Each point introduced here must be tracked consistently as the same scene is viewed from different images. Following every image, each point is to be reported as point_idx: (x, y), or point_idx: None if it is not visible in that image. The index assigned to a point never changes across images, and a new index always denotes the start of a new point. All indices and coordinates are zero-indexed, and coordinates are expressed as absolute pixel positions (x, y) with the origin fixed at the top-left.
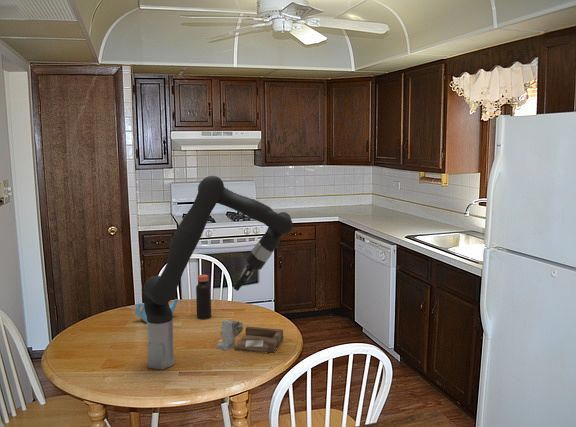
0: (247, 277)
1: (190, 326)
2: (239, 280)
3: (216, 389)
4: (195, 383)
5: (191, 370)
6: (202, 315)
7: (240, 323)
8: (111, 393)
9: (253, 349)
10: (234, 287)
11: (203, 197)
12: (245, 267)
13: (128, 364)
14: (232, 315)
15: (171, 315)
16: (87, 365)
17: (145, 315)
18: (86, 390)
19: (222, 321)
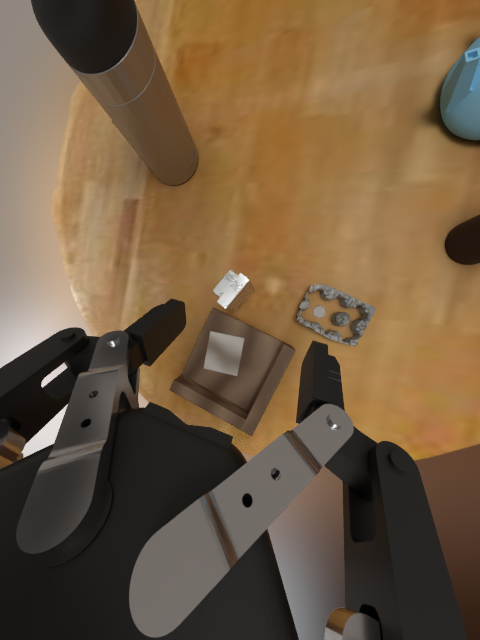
0: (3, 420)
1: (391, 207)
2: (57, 337)
3: (68, 264)
4: (92, 230)
5: (139, 221)
6: (456, 234)
7: (355, 339)
8: (83, 95)
9: (195, 346)
10: (169, 303)
11: None
12: (28, 505)
13: (186, 96)
14: (463, 328)
15: (64, 49)
16: (197, 12)
17: (473, 43)
18: None
19: (239, 274)
